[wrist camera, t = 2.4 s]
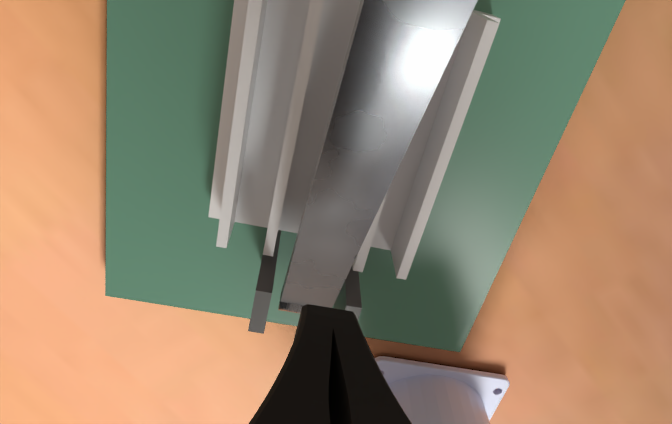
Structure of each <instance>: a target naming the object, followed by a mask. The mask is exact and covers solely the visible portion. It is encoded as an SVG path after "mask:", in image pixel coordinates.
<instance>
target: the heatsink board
mask: <svg viewBox="0 0 672 424" xmlns="http://www.w3.org/2000/svg"><path fill="white" fill-rule="evenodd" d="M360 2H361V0H107V99H106V293H105V296H111V297H117V298H124V299H130V300H136V301H142V302H149V303H155V304H161V305H167V306H174V307H180V308H186V309H193V310H199V311H205V312H211V313H218V314H224V315H230V316H236V317H243V318H249V319H250V324H249V329H248V331H251V332H257V333H264V329H265V325H266V321H268V322H274V323H280V324H287V325H293V326H298V321H299V317H300V313H293V312H287V311H281V310H278V307H279V301H280V295H281V290H282V287H283V284H284V281H285V277H286V273H287V270H288V266H289V262H290V259H291V255H292V251H293V248H294V244H295V240H296V237H297V233H298V229H299V226H300V222H301V218H302V215H303V211H304V207H305V204H306V200H307V196H308V193H309V189H310V185H311V182H312V178H313V174H314V170H315V167H316V163H317V159H318V156H319V152H320V148H321V145H322V141H323V137H324V134H325V130H326V126H327V123H328V119H329V115H330V112H331V108H332V104H333V101H334V97H335V93H336V90H337V86H338V82H339V79H340V75H341V71H342V68H343V64H344V60H345V57H346V53H347V49H348V46H349V42H350V38H351V35H352V31H353V27H354V24H355V20H356V16H357V13H358V9H359V5H360ZM624 3H625V0H478V1H477V3H476V5H475V7H474V9H473V12H472V14H471V16H470V18H469V20H468V22H467V24H466V26H465V28H464V31H463V33H462V35H461V37H460V39H459V41H458V43H457V45H456V47H455V50H454V52H453V54H452V56H451V58H450V60H449V62H448V64H447V66H446V69H445V71H444V73H443V75H442V77H441V79H440V81H439V83H438V85H437V88H436V90H435V92H434V94H433V96H432V98H431V100H430V102H429V104H428V107H427V109H426V111H425V113H424V115H423V117H422V119H421V121H420V123H419V126H418V128H417V130H416V132H415V134H414V136H413V138H412V140H411V142H410V145H409V147H408V149H407V151H406V153H405V155H404V157H403V159H402V161H401V164H400V166H399V168H398V170H397V172H396V174H395V176H394V178H393V180H392V183H391V185H390V187H389V189H388V191H387V193H386V195H385V197H384V199H383V202H382V204H381V206H380V208H379V210H378V212H377V214H376V216H375V218H374V221H373V223H372V225H371V227H370V229H369V231H368V233H367V235H366V237H365V239H364V242H363V244H362V246H361V248H360V250H359V252H358V254H357V256H356V258H355V261H354V263H353V265H352V267H351V269H350V271H349V273H348V275H347V277H346V280H345V282H344V284H343V286H342V288H341V290H340V292H339V294H338V296H337V299H336V301H335V303H334V305H333V307H332V308H335V309H342V310H348V311H353V312H354V314H355V315H356V317H357V320H358V323H359V325H360V327H361V330H362V332H363V335H364V337H368V338H374V339H381V340H387V341H393V342H399V343H406V344H412V345H418V346H425V347H431V348H437V349H443V350H450V351H456V352H460V351H461V349H462V347H463V345H464V343H465V341H466V338H467V336H468V334H469V332H470V330H471V328H472V326H473V324H474V321H475V319H476V317H477V315H478V313H479V311H480V309H481V307H482V304H483V302H484V300H485V298H486V296H487V294H488V292H489V290H490V287H491V285H492V283H493V281H494V279H495V277H496V275H497V273H498V270H499V268H500V266H501V264H502V262H503V260H504V258H505V256H506V253H507V251H508V249H509V247H510V245H511V243H512V241H513V239H514V236H515V234H516V232H517V230H518V228H519V226H520V224H521V222H522V219H523V217H524V215H525V213H526V211H527V209H528V207H529V205H530V202H531V200H532V198H533V196H534V194H535V192H536V190H537V188H538V185H539V183H540V181H541V179H542V177H543V175H544V173H545V171H546V168H547V166H548V164H549V162H550V160H551V158H552V156H553V154H554V151H555V149H556V147H557V145H558V143H559V141H560V139H561V137H562V134H563V132H564V130H565V128H566V126H567V124H568V122H569V120H570V117H571V115H572V113H573V111H574V109H575V107H576V105H577V102H578V100H579V98H580V96H581V94H582V92H583V90H584V88H585V85H586V83H587V81H588V79H589V77H590V75H591V73H592V71H593V68H594V66H595V64H596V62H597V60H598V58H599V56H600V54H601V51H602V49H603V47H604V45H605V43H606V41H607V39H608V37H609V34H610V32H611V30H612V28H613V26H614V24H615V22H616V20H617V17H618V15H619V13H620V11H621V9H622V7H623V5H624Z"/></svg>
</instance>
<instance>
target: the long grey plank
mask: <svg viewBox="0 0 672 424" xmlns="http://www.w3.org/2000/svg"><path fill="white" fill-rule="evenodd" d="M477 1H478V0H361V2H360V5H359V9H358V13H357V16H356V20H355V24H354V27H353V31H352V35H351V38H350V42H349V46H348V49H347V53H346V57H345V60H344V64H343V68H342V71H341V75H340V79H339V82H338V86H337V90H336V93H335V97H334V101H333V104H332V108H331V112H330V115H329V119H328V123H327V126H326V130H325V134H324V137H323V141H322V145H321V148H320V152H319V156H318V159H317V163H316V167H315V170H314V174H313V178H312V182H311V185H310V189H309V193H308V196H307V200H306V204H305V207H304V211H303V215H302V218H301V222H300V226H299V229H298V233H297V237H296V240H295V244H294V248H293V251H292V255H291V259H290V262H289V266H288V270H287V273H286V277H285V281H284V284H283V287H282V290H281V295H280V301H279V307H278V310H281V311H287V312H293V313H301V309H302V306H304V305H306V304H310V305H317V306H323V307H329V308H332V307H333V305H334V303H335V301H336V299H337V296H338V294H339V292H340V290H341V288H342V286H343V284H344V282H345V280H346V277H347V275H348V273H349V271H350V269H351V267H352V265H353V263H354V261H355V258H356V256H357V254H358V252H359V250H360V248H361V246H362V244H363V242H364V239H365V237H366V235H367V233H368V231H369V229H370V227H371V225H372V223H373V221H374V218H375V216H376V214H377V212H378V210H379V208H380V206H381V204H382V202H383V199H384V197H385V195H386V193H387V191H388V189H389V187H390V185H391V183H392V180H393V178H394V176H395V174H396V172H397V170H398V168H399V166H400V164H401V161H402V159H403V157H404V155H405V153H406V151H407V149H408V147H409V145H410V142H411V140H412V138H413V136H414V134H415V132H416V130H417V128H418V126H419V123H420V121H421V119H422V117H423V115H424V113H425V111H426V109H427V107H428V104H429V102H430V100H431V98H432V96H433V94H434V92H435V90H436V88H437V85H438V83H439V81H440V79H441V77H442V75H443V73H444V71H445V69H446V66H447V64H448V62H449V60H450V58H451V56H452V54H453V52H454V50H455V47H456V45H457V43H458V41H459V39H460V37H461V35H462V33H463V31H464V28H465V26H466V24H467V22H468V20H469V18H470V16H471V14H472V12H473V9H474V7H475V5H476V3H477Z"/></svg>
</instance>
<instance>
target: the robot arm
mask: <svg viewBox="0 0 672 424" xmlns="http://www.w3.org/2000/svg"><path fill="white" fill-rule="evenodd" d="M509 384H510V383H509V380H508V378H507V377H506V376H505V375H502V374H496V373H489V372H483V371H476V370H470V369H463V368H457V367H450V366H444V365H438V364H431V363H425V362H418V361H412V360H405V359H399V358H393V357H386V356H379V357H376V358H375V359H374V356H373V354H372V352H371V350H370V348H369V346H368V344H367V341H366V339H365V337H364V335H363V332H362V330H361V327H360V325H359V323H358V320H357V317H356V315H355V314H354V312H353V311H348V310H342V309H335V308H329V307H323V306H317V305H310V304H306V305H304V306H302V309H301V313H300V317H299V321H298V326H297V330H296V334H295V338H294V342H293V345H292V347H291V350H290V352H289V354H288V357H287V359H286V361H285V363H284V365H283V367H282V369H281V371H280V373H279V375H278V377H277V378H276V380H275V382H274V384H273V386H272V388H271V389H270V391H269V393H268V395H267V396H266V398H265V400H264V401H263V403H262V404H261V406H260V407H259V409H258V411H257V412H256V414H255V415H254V417H253V418H252V419H251V421H250V422H249V424H490V422H489V421H490V419H491V417H492V415H493V414H494V412H495V410H496V408H497V406H498V405H499V403H500V401H501V399H502V397H503V396H504V394H505V392H506V390H507V389H508V387H509ZM497 388H498V389H497Z"/></svg>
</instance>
